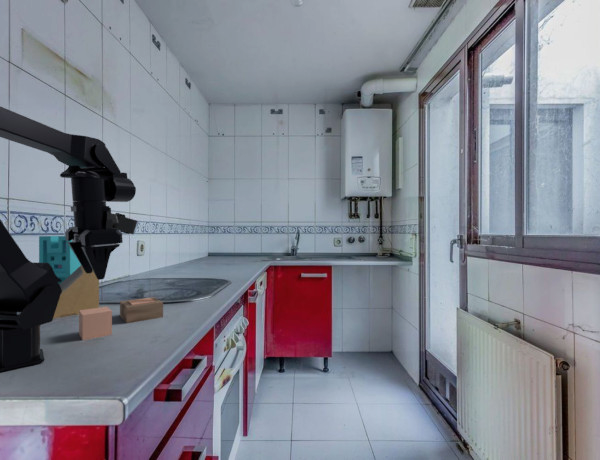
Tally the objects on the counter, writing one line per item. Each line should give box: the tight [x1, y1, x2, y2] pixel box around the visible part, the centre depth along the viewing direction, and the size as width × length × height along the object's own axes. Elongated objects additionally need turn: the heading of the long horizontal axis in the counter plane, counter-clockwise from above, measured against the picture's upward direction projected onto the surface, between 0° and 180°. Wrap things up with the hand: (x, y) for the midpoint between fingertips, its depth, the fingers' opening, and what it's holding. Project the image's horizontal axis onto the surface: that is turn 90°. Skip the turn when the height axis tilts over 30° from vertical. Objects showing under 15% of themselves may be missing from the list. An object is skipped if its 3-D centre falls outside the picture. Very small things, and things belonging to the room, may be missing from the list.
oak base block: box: [119, 296, 164, 324], centre depth 78 cm, size 8×8×4 cm
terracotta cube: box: [78, 306, 113, 341], centre depth 65 cm, size 5×5×5 cm
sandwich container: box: [53, 266, 100, 320], centre depth 81 cm, size 9×15×15 cm, turn 132°
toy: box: [38, 235, 81, 284], centre depth 93 cm, size 9×6×20 cm, turn 86°
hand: (94, 276), depth 66 cm, fingers open, 9 cm apart
